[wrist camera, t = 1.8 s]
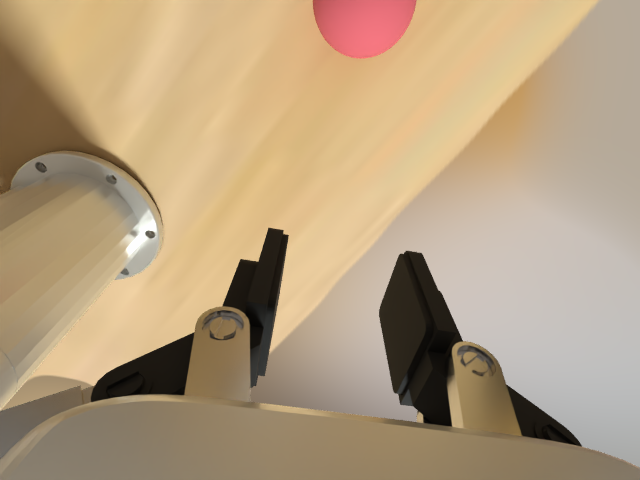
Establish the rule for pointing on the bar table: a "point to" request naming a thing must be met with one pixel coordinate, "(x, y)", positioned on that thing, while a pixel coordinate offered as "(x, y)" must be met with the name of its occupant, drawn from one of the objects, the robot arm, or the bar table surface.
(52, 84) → the bar table surface
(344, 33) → the ball
